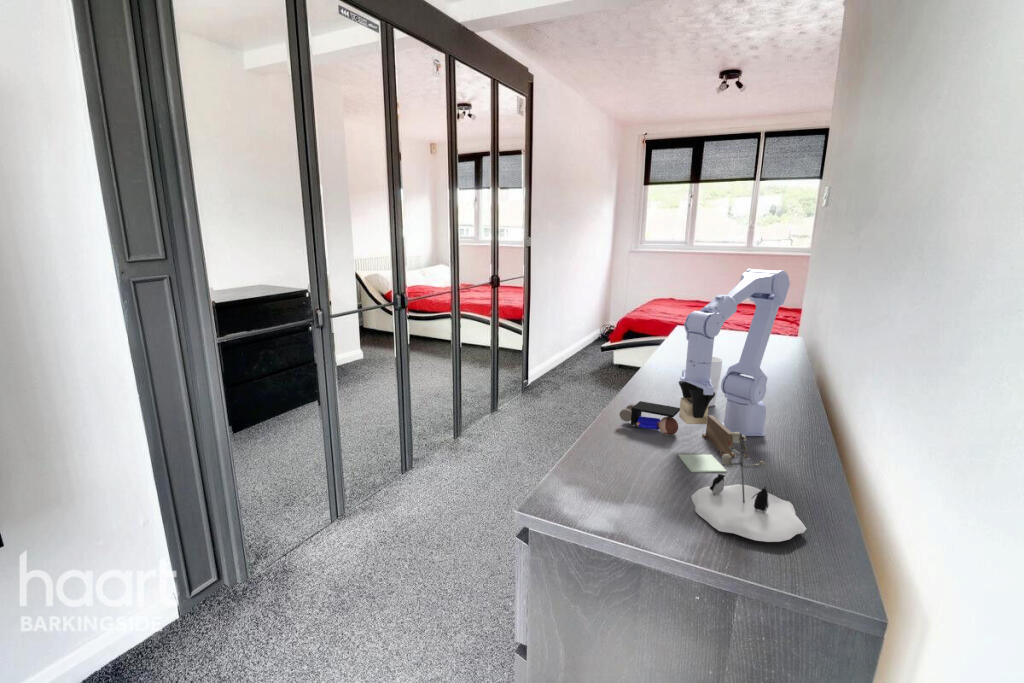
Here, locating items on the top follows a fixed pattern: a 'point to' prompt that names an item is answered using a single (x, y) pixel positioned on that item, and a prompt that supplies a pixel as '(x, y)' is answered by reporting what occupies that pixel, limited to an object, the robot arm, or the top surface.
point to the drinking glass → (715, 376)
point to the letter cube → (690, 412)
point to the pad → (701, 463)
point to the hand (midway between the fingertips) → (693, 413)
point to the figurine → (746, 506)
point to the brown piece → (719, 435)
